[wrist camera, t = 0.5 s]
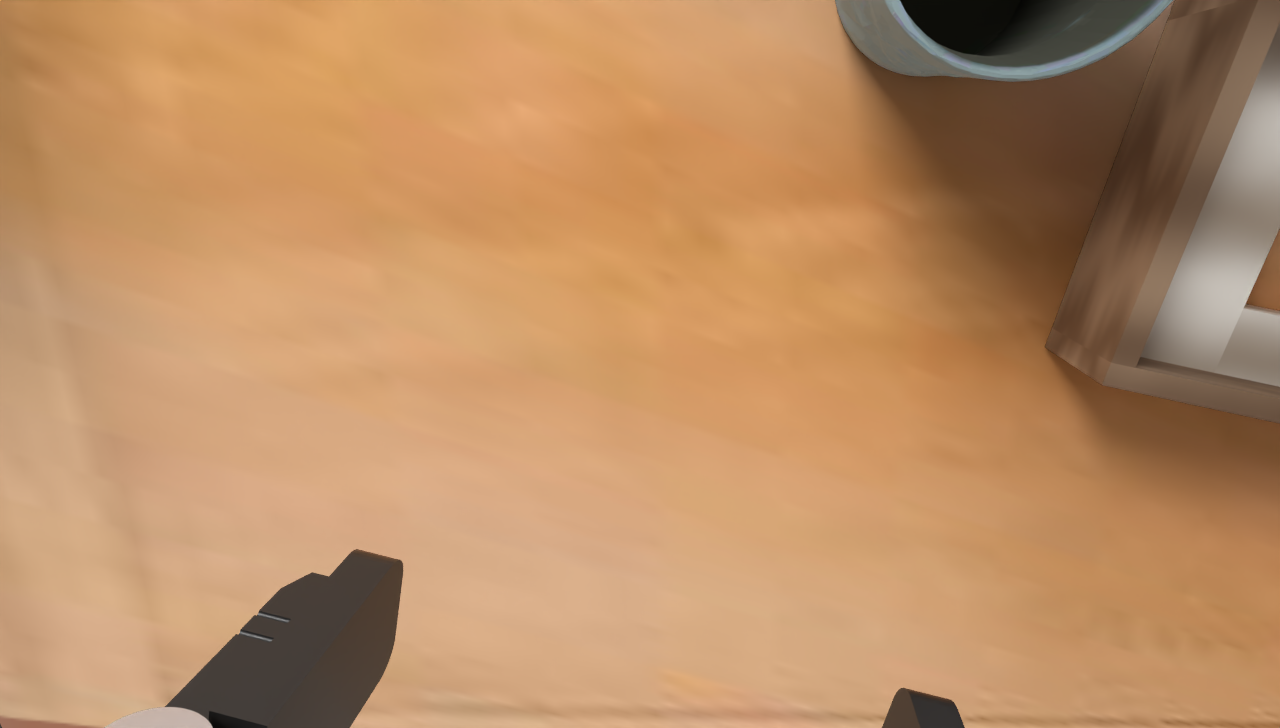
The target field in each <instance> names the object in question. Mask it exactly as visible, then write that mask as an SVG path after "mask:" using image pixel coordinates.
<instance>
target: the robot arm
mask: <svg viewBox="0 0 1280 728" xmlns="http://www.w3.org/2000/svg"><path fill="white" fill-rule="evenodd" d="M402 577H403V563H402V561H401V560H398V559H394V558H390V557H386V556H382V555H378V554H374V553H370V552H366V551H362V550H358V549H356V550H354V551H352V552H351V553H350V554H349V555H348V556H347V557H346V558H345V560H344V561H343V562H342V563H341V564H340V565H339V566H338V567H337V568H336V570H335V571H334V572H333V573H332V574H331V575H330V576H329V577H328V576H324V575H320V574H316V573H310V574H308V575H306V576H304V577H302V578H300V579H298V580H297V581H295V582H293V583H291V584H289V585H287V586H285V587H283V588H281V589H280V590H279V591H278V592H277V593H276V594H275V595H274V596H273V597H272V598H271V599H270V600H269V601H268V602H267V603H266V604H265V605H264V606H263V607H262V608H261V609H260V610H259V613H258V615H257V616H256V615H254V616H253V618H252V619H251V620H250V621H249V622H248V623H247V624H246V625H245V626H244V627H243V628H242V629H241V631H240V633H239V635H237V634H236V635H235V636H234V637H233V638H232V639H231V640H230V641H229V642H228V643H227V644H226V645H225V646H224V647H223V648H222V649H221V650H220V651H219V652H218V653H217V654H216V655H215V656H214V657H213V658H212V659H211V660H210V661H209V662H208V664H207V665H206V666H205V667H204V668H203V669H202V670H201V671H200V672H199V673H198V674H197V675H196V676H195V677H194V678H193V679H192V680H191V681H190V682H189V683H188V684H187V685H186V686H185V687H184V688H183V689H182V690H181V691H180V692H179V693H178V694H177V695H176V696H175V697H174V698H173V699H172V700H171V701H170V702H169V703H168V704H167V705H166V706H165V707H159V708H153V709H147V710H143V711H139V712H136V713H133V714H130V715H127V716H125V717H123V718H120V719H118V720H116V721H114V722H112V723H111V724H109V725H108V726H106V727H104V728H350V726H351V725H352V723H353V721H354V720H355V718H356V717H357V715H358V714H359V712H360V711H361V709H362V707H363V706H364V704H365V703H366V701H367V700H368V698H369V696H370V695H371V693H372V692H373V690H374V689H375V687H376V685H377V684H378V682H379V681H380V679H381V677H382V675H383V673H384V671H385V669H386V667H387V664H388V662H389V659H390V656H391V653H392V650H393V646H394V641H395V635H396V627H397V618H398V610H399V602H400V593H401V585H402ZM0 728H2V727H1V725H0ZM882 728H965V727H964V725H963V722H962V720H961V717H960V714H959V712H958V709H957V707H956V705H955V704H954V702H953V701H952V700H949V699H945V698H941V697H937V696H933V695H930V694H926V693H922V692H918V691H914V690H910V689H906V688H901V689H899V690H898V692H897V693H896V695H895V696H894V699H893V701H892V704H891V706H890V709H889V711H888V714H887V716H886V719H885V721H884V724H883V727H882Z"/></svg>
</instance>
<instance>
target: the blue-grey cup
mask: <svg viewBox="0 0 1280 728" xmlns="http://www.w3.org/2000/svg"><path fill="white" fill-rule="evenodd" d="M1172 1H1173V0H835V2H836V6H837V11H838V14H839V17H840V19H841V22H842V24H843V27H844V29H845V31H846V32H847V34H848V35H849V37H850V39H851V40H852V42H853V43H854V44H855V45H856V47H857V48H858V49H859V50H860V51H861V52H862V53H863V54H864V55H865V56H866V57H867V58H869V59H870V60H872V61H873V62H875V63H876V64H877V65H879V66H881V67H883V68H885V69H888V70H890V71H893V72H895V73H899V74H904V75H909V76H922V77H929V76H951V77H969V78H977V79H986V80H995V81H1008V82H1018V81H1034V80H1040V79H1046V78H1051V77H1055V76H1059V75H1063V74H1066V73H1069V72H1072V71H1075V70H1078V69H1081V68H1083V67H1085V66H1087V65H1090V64H1092V63H1094V62H1096V61H1099V60H1101V59H1103V58H1105V57H1107V56H1108V55H1110V54H1111V53H1113V52H1114V51H1116V50H1117V49H1119V48H1120V47H1122V46H1123V45H1125V44H1126V43H1128V42H1130V41H1131V40H1133V39H1134V38H1135V37H1136V36H1137V35H1138V34H1140V33H1141V32H1142V31H1143V30H1144V29H1145V28H1146V27H1147V26H1149V25H1150V24H1151V23H1152V22H1153V21H1154V20H1155V19H1156V18H1157V17H1158V16H1159V15H1160V14H1161V13H1162V12H1163V11H1164V10H1165V8H1166V7H1167V6H1168V5H1169V4H1170V3H1171V2H1172Z"/></svg>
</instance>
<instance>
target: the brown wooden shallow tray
mask: <svg viewBox="0 0 1280 728" xmlns="http://www.w3.org/2000/svg"><path fill="white" fill-rule="evenodd" d="M1279 229H1280V0H1175V2H1174V4H1173V7H1172V10H1171V12H1170V15H1169V18H1168V20H1167V23H1166V26H1165V28H1164V31H1163V34H1162V36H1161V39H1160V42H1159V44H1158V47H1157V50H1156V52H1155V55H1154V58H1153V60H1152V63H1151V66H1150V68H1149V71H1148V74H1147V76H1146V79H1145V82H1144V84H1143V87H1142V90H1141V92H1140V95H1139V98H1138V100H1137V103H1136V106H1135V108H1134V111H1133V114H1132V116H1131V119H1130V122H1129V124H1128V127H1127V130H1126V132H1125V135H1124V138H1123V140H1122V143H1121V146H1120V148H1119V151H1118V154H1117V156H1116V159H1115V162H1114V164H1113V167H1112V170H1111V172H1110V175H1109V178H1108V180H1107V183H1106V186H1105V188H1104V191H1103V194H1102V196H1101V199H1100V202H1099V204H1098V207H1097V210H1096V212H1095V215H1094V218H1093V220H1092V223H1091V226H1090V228H1089V231H1088V234H1087V236H1086V239H1085V242H1084V244H1083V247H1082V250H1081V252H1080V255H1079V258H1078V260H1077V263H1076V266H1075V268H1074V271H1073V274H1072V276H1071V279H1070V282H1069V284H1068V287H1067V290H1066V292H1065V295H1064V298H1063V300H1062V303H1061V306H1060V308H1059V311H1058V314H1057V316H1056V319H1055V322H1054V324H1053V327H1052V330H1051V332H1050V335H1049V338H1048V340H1047V343H1046V345H1045V348H1047V349H1048V350H1050V351H1051V352H1053V353H1054V354H1056V355H1057V356H1059V357H1060V358H1062V359H1063V360H1065V361H1066V362H1068V363H1069V364H1071V365H1072V366H1074V367H1075V368H1077V369H1078V370H1080V371H1081V372H1083V373H1084V374H1086V375H1087V376H1089V377H1090V378H1092V379H1093V380H1095V381H1096V382H1098V383H1100V384H1101V385H1104V386H1108V387H1113V388H1118V389H1122V390H1127V391H1131V392H1136V393H1141V394H1145V395H1150V396H1155V397H1159V398H1164V399H1168V400H1173V401H1178V402H1182V403H1187V404H1192V405H1196V406H1201V407H1206V408H1210V409H1215V410H1219V411H1224V412H1229V413H1233V414H1238V415H1243V416H1247V417H1252V418H1256V419H1261V420H1266V421H1270V422H1275V423H1280V311H1277V310H1272V309H1268V308H1263V307H1258V306H1253V305H1248V304H1246V302H1247V299H1248V297H1249V295H1250V293H1251V290H1252V288H1253V286H1254V284H1255V282H1256V279H1257V277H1258V275H1259V273H1260V271H1261V268H1262V266H1263V264H1264V262H1265V260H1266V257H1267V255H1268V253H1269V251H1270V248H1271V246H1272V244H1273V242H1274V240H1275V237H1276V235H1277V233H1278V231H1279Z"/></svg>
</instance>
